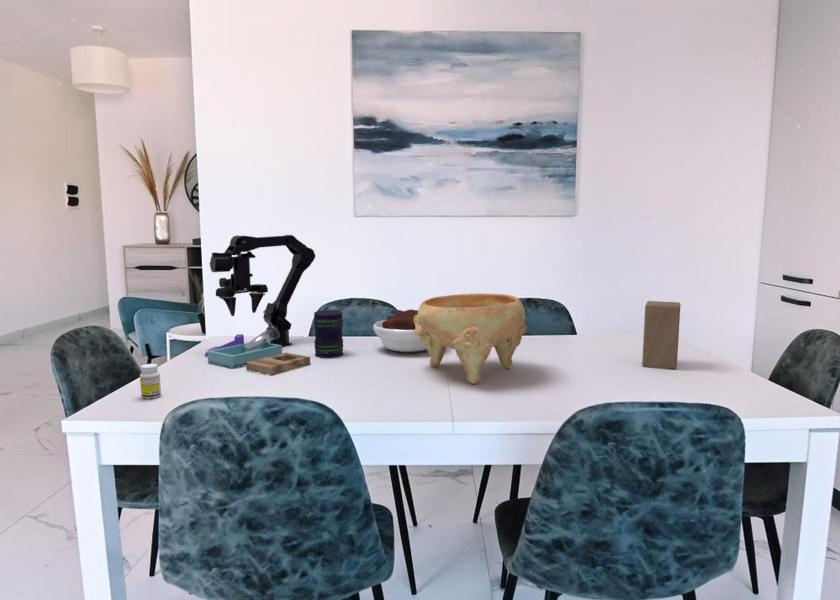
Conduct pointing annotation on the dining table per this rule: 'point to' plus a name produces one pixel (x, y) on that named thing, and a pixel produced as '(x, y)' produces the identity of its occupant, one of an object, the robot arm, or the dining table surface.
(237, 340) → the bracket
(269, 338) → the pin
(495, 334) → the decorative bowl
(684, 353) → the dining table surface
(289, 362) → the block
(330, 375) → the dining table surface
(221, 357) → the tray
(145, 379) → the supplement bottle
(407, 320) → the white bowl of pudding
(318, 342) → the storage jar
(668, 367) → the wooden block
